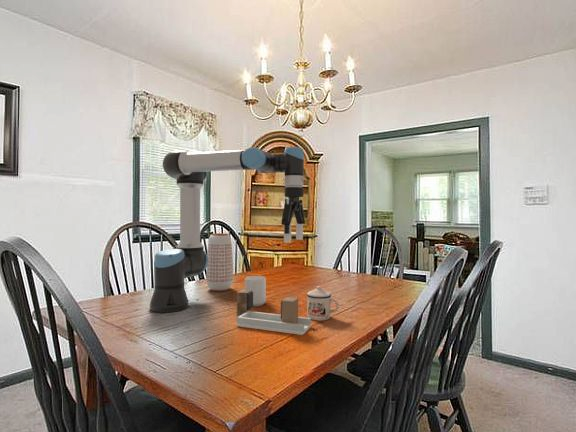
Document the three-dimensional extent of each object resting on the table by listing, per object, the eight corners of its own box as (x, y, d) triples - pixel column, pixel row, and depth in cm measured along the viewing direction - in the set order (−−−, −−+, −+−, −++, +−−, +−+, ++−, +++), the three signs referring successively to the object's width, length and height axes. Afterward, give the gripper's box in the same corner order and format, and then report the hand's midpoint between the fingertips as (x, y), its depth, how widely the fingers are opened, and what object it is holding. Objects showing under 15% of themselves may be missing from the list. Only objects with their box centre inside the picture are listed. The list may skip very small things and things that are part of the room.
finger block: (236, 315, 135) (237, 292, 135) (243, 312, 140) (243, 289, 140) (247, 317, 134) (247, 293, 133) (253, 313, 138) (253, 290, 138)
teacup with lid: (303, 319, 131) (303, 287, 131) (310, 312, 139) (310, 283, 139) (335, 323, 127) (336, 290, 127) (340, 316, 135) (341, 285, 135)
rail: (236, 326, 123) (237, 297, 123) (248, 319, 131) (248, 291, 131) (302, 334, 114) (303, 303, 114) (310, 326, 123) (310, 297, 122)
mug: (259, 307, 147) (259, 280, 146) (240, 305, 150) (240, 278, 150) (272, 301, 157) (272, 276, 157) (254, 298, 161) (255, 274, 161)
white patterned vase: (230, 292, 173) (230, 234, 173) (203, 292, 173) (203, 234, 173) (235, 286, 187) (235, 233, 186) (209, 286, 187) (209, 232, 186)
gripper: (292, 184, 127) (291, 244, 127) (312, 188, 150) (312, 239, 151) (272, 185, 130) (272, 243, 130) (295, 189, 153) (295, 238, 153)
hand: (293, 241), depth 140 cm, fingers open, 13 cm apart
